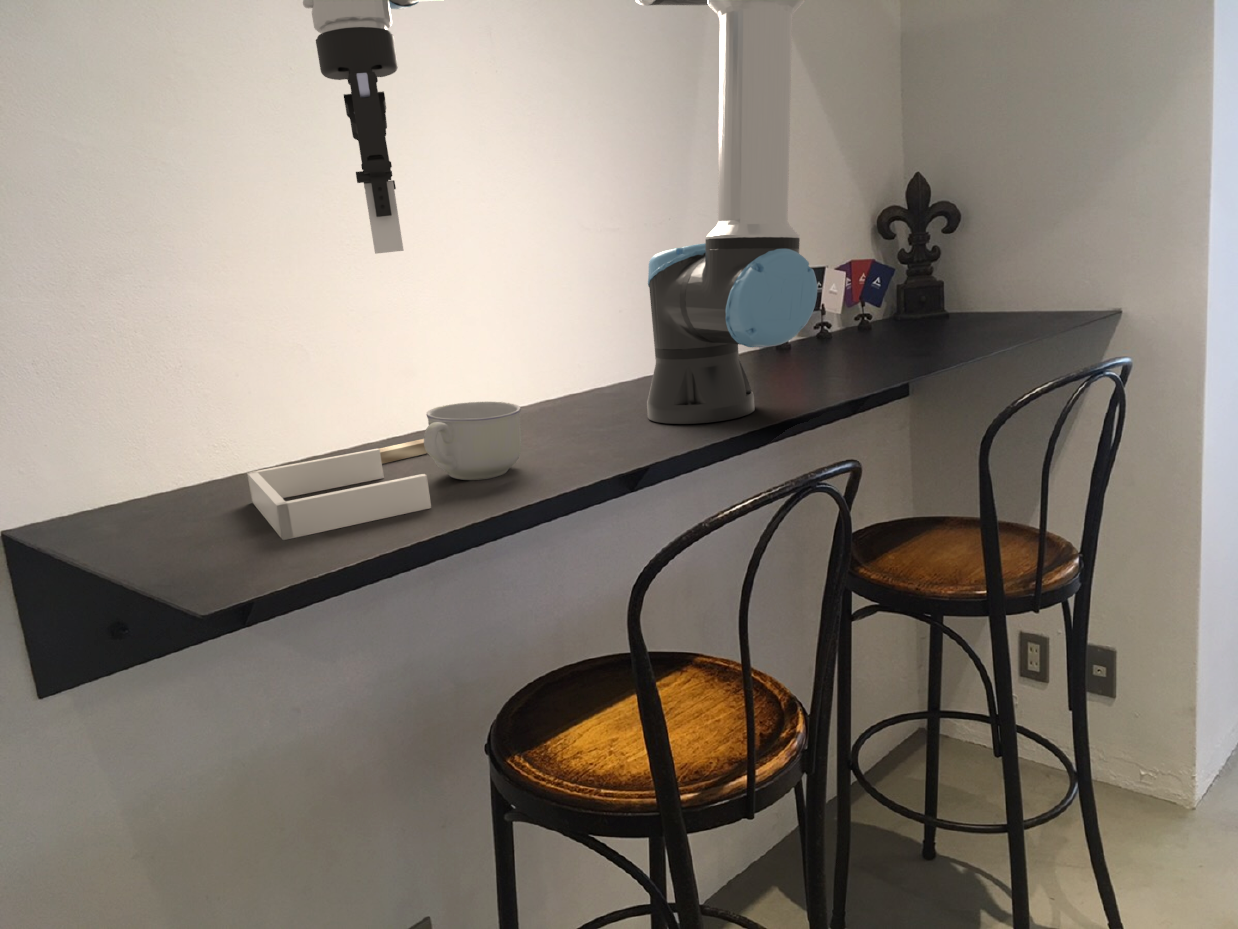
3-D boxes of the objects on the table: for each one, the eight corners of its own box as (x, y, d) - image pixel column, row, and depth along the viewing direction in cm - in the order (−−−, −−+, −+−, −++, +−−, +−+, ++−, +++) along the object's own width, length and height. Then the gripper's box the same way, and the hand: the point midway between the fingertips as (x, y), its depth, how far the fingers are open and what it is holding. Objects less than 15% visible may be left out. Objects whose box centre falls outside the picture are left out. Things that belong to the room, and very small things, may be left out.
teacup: (483, 460, 121) (475, 397, 119) (546, 467, 114) (539, 400, 113) (394, 488, 111) (384, 419, 109) (457, 497, 104) (448, 425, 102)
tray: (381, 476, 117) (377, 448, 116) (431, 507, 101) (426, 475, 100) (252, 502, 110) (246, 472, 110) (283, 540, 94) (276, 505, 93)
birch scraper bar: (467, 439, 135) (466, 429, 134) (477, 441, 133) (475, 430, 132) (308, 476, 121) (306, 464, 121) (315, 479, 119) (313, 467, 119)
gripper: (321, 58, 106) (353, 255, 111) (306, 3, 83) (348, 256, 88) (390, 54, 108) (419, 248, 113) (395, -2, 84) (431, 247, 89)
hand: (388, 252), depth 100 cm, fingers open, 13 cm apart
